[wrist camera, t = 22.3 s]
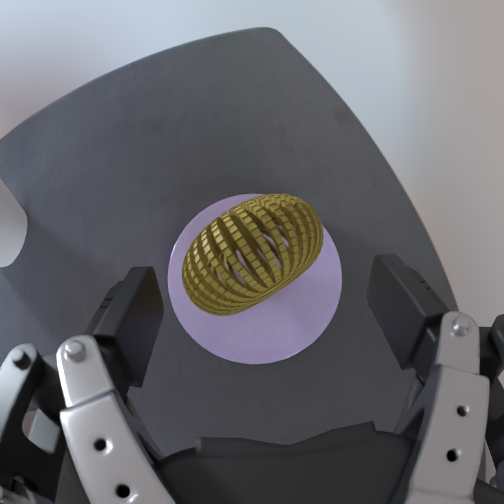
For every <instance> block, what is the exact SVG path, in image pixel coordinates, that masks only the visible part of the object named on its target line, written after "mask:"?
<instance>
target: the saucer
mask: <svg viewBox="0 0 504 504" xmlns="http://www.w3.org/2000/svg"><path fill="white" fill-rule="evenodd" d="M261 195H265V194H245V195H238V196H234V197H229V198H227V199H224V200H221V201H219V202H217V203H215V204H213V205H211V206H209V207H208V208H206V209H205V210H203V211H202V212H200V213H199V214H198V215H197V216H196V217H195V218H194V219H193V220H192V221H191V222H190V223H189V224H188V225H187V226H186V228H185V229H184V230H183V232H182V233H181V235H180V236H179V238H178V240H177V242H176V244H175V246H174V249H173V252H172V255H171V259H170V263H169V269H168V289H169V295H170V300H171V303H172V306H173V309H174V312H175V314H176V316H177V318H178V320H179V322H180V323H181V324H182V326H183V327H184V329H185V330H186V332H187V333H188V334H189V335H190V336H191V337H192V338H193V339H194V340H195V341H196V342H197V343H198V344H200V345H201V346H202V347H203V348H205V349H206V350H208V351H210V352H211V353H213V354H215V355H217V356H219V357H222V358H224V359H227V360H230V361H234V362H239V363H245V364H264V363H272V362H276V361H280V360H283V359H286V358H288V357H291V356H293V355H295V354H297V353H299V352H300V351H302V350H304V349H305V348H307V347H308V346H309V345H310V344H312V343H313V342H314V341H315V340H316V339H317V338H318V337H319V336H320V335H321V334H322V333H323V331H324V330H325V329H326V327H327V326H328V324H329V323H330V321H331V319H332V317H333V315H334V314H335V311H336V308H337V306H338V303H339V299H340V294H341V288H342V270H341V264H340V259H339V255H338V252H337V249H336V247H335V244H334V242H333V240H332V238H331V237H330V235H329V234H328V232H327V231H326V229H325V228H324V226H323V225H322V227H323V230H324V231H323V234H324V239H323V244H322V245H323V246H322V248H321V252H320V254H319V255H318V258H316V261H315V262H314V263H313V264H312V265H311V267H310V268H308V269H307V270H306V271H305V272H304V273H303V274H301V275H300V276H299V277H298V278H296V279H295V280H294V281H293V282H291V283H290V284H288V285H286V287H284V288H283V289H281V290H280V291H278V292H277V293H274V295H272V296H271V297H269V298H267V299H266V300H264V301H261V303H259V304H257V305H255V306H253V307H251V308H249V309H247V310H244V311H243V312H241V313H240V312H239V313H238V314H234V315H231V316H216V315H212V314H208V313H206V312H205V311H202V310H201V309H199V308H198V307H196V306H195V304H194V303H193V302H191V300H190V299H189V297H188V295H187V294H186V291H185V288H184V287H183V282H182V281H183V280H182V266H183V261H184V258H185V256H186V252H187V250H189V248H190V245H191V244H192V242H193V241H194V239H195V238H196V237H197V235H198V234H199V233H200V232H201V231H203V230H204V228H205V227H206V226H207V225H208V224H210V223H212V221H213V220H214V219H216V218H217V217H221V214H223V213H224V212H226V211H227V213H228V214H229V209H230V208H232V207H234V206H237V205H238V204H240V203H242V202H244V201H247V200H249V199H251V198H252V199H253V198H254V197H255V198H256V197H258V196H261ZM230 217H231V216H230ZM221 218H222V217H221ZM278 226H279V225H278ZM293 227H295V226H293ZM280 229H283V228H281V226H280ZM261 233H262V232H261ZM263 235H264V236H265V237H266V238H268V239H269V240H270V241H271V243H272V244H273V245H274V244H275V243H273V242H274V241H272V239H271V238H269V237H268V236H266V235H265V234H263ZM296 235H297V234H296ZM282 238H283V237H282ZM283 240H284V243H285V244H286V245H287V246H288V245H289V244H288V243H287V242H288V241H287V240H286V239H284V238H283ZM297 243H298V242H297ZM262 245H264V244H262ZM274 246H275V245H274ZM256 248H257V247H256ZM275 248H276V247H275ZM273 249H274V248H273ZM236 251H237V250H236ZM257 251H258V252H259V254H260V255H261V256H262V258H263V259H264V260H265V261H266V259H265V258H264V257H263V255H262V253H260V251H259V250H258V249H257ZM236 253H237V255H238V256H237V257H238V258H239V260H240V261H241V264H243V265H244V266H245V267H246V270H248V268H247V266H246V265H245V263H244V260H243V259H242V257H241V255H240V253H239V251H237V252H236ZM273 256H275V255H273ZM275 259H276V261H277V263H278V266H279V267H280V266H281V265H280V263H279V260H277V258H276V257H275ZM223 260H225V259H223ZM223 264H224V265H225V261H224V262H223ZM225 268H227V267H225ZM233 269H234V268H233ZM235 270H236V269H234V270H233V271H234V272H235V274H236V276H237V278H238V279H239V280H240V281H241V283H242V282H243V284H244V283H245V282H244V281H243V279H242V278H241V276H240V275H239V274H238V273H237V272H236V271H235ZM248 271H249V270H248ZM211 272H212V271H211ZM249 273H250V271H249ZM210 274H211V273H210ZM217 276H218V277H219V279H220V278H221V277H220V275H219V273H218V275H217ZM220 280H221V279H220ZM245 284H246V283H245ZM206 288H207V287H206ZM233 289H235V288H233ZM235 291H236V290H235ZM237 291H238V290H237Z"/></svg>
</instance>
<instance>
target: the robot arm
mask: <svg viewBox="0 0 504 504" xmlns="http://www.w3.org/2000/svg"><path fill="white" fill-rule="evenodd" d="M367 298H368V304H369V306H370V308H371V310H372V312H373V314H374V316H375V317H376V319H377V321H378V323H379V325H380V327H381V329H382V331H383V333H384V335H385V337H386V338H387V340H388V342H389V344H390V346H391V348H392V350H393V352H394V354H395V356H396V359H397V361H398V363H399V365H400V367H401V369H402V370H404V369H408V368H412V367H414V368H415V369H416V372H415V374H414V376H413V379H412V382H411V386H410V389H409V392H408V395H407V399H406V402H405V405H404V408H403V410H402V413H401V416H400V419H399V421H398V423H397V425H396V427H395V428H394V430H393V432H392V433H391V432H384V431H376V429H375V426H374V423H373V421H370V422H366V423H361V424H357V425H352V426H347V427H342V428H337V429H332V430H330V431H327V432H325V433H322V434H320V435H317V436H314V437H312V438H309V439H306V440H304V441H301V442H298V443H295V444H292V445H280V444H273V443H266V442H260V441H255V440H249V439H244V438H205V437H196V446H195V448H190V449H186V450H182V451H179V452H176V453H174V454H171V455H169V456H167V457H165V456H164V455H163V454H162V452H161V451H160V449H159V448H158V447H157V445H156V444H155V443H154V441H153V440H152V438H151V436H150V435H149V433H148V431H147V430H146V428H145V426H144V424H143V423H142V421H141V419H140V417H139V415H138V413H137V412H136V410H135V408H134V406H133V404H132V402H131V400H130V398H129V396H128V395H127V392H128V389H129V386H133V387H142V384H143V380H144V377H145V373H146V370H147V366H148V363H149V360H150V356H151V353H152V350H153V347H154V343H155V340H156V337H157V334H158V331H159V328H160V325H161V322H162V319H163V313H164V307H163V301H162V297H161V293H160V290H159V286H158V282H157V278H156V274H155V271H154V269H153V267H132V268H131V269H130V271H129V272H128V274H127V276H126V277H125V279H124V280H123V281H120V282H118V283H117V284H116V285H115V286H114V287H112V288H111V289H110V290H109V292H108V293H107V295H106V297H105V298H104V301H103V302H102V303H101V305H100V308H98V310H97V312H96V313H95V315H94V317H93V318H92V320H91V322H90V324H89V325H88V327H87V329H86V331H85V332H84V334H83V335H76V336H73V337H71V338H69V339H68V340H66V341H65V342H64V343H63V344H62V345H61V346H60V347H59V349H58V351H57V353H54V354H47V355H41V356H40V354H39V353H38V351H37V349H36V348H35V346H34V345H32V344H29V343H26V344H21V345H19V346H17V347H16V348H14V349H13V350H12V351H11V352H10V353H9V355H8V356H7V358H6V360H5V361H4V363H3V365H2V367H1V369H0V504H55V499H56V493H57V488H58V482H59V477H60V473H61V468H62V464H63V459H64V455H65V451H66V447H67V444H68V447H69V450H70V453H71V456H72V459H73V462H74V465H75V467H76V470H77V473H78V475H79V478H80V480H81V483H82V485H83V487H84V490H85V492H86V494H87V496H88V498H89V501H90V503H91V504H504V389H503V387H502V385H501V383H500V381H499V379H498V376H499V375H500V374H501V372H502V371H503V370H504V314H502V315H499V316H497V317H496V319H495V321H494V323H493V325H492V327H478V325H477V323H476V322H475V321H474V320H473V319H472V318H471V317H470V316H468V315H467V314H464V313H462V312H458V311H451V312H450V310H449V309H448V308H447V307H446V305H445V304H444V303H443V302H442V300H441V299H440V298H439V297H438V295H437V294H436V293H435V292H434V291H433V289H432V290H431V287H430V286H429V285H428V283H425V280H424V279H423V278H422V277H421V275H420V274H419V273H418V272H416V271H415V270H413V269H412V268H410V267H408V266H406V265H405V264H404V263H403V261H402V260H401V259H400V258H399V257H398V256H397V255H396V254H385V255H376V256H375V258H374V261H373V266H372V271H371V276H370V281H369V286H368V291H367ZM30 401H32V402H33V403H34V404H35V405H36V406H37V407H38V409H37V412H36V414H35V417H34V420H33V423H32V425H31V428H30V431H29V434H28V437H26V436H25V435H24V433H23V429H22V422H23V419H24V416H25V414H26V411H27V409H28V406H29V404H30ZM484 438H485V439H486V442H487V445H488V447H489V450H490V453H491V456H492V459H493V462H494V465H495V469H496V475H495V476H494V477H492V478H491V480H490V483H489V484H488V483H486V482H484V481H482V480H480V479H478V478H476V477H477V473H478V469H479V465H480V460H481V455H482V450H483V445H484Z"/></svg>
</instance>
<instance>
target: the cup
mask: <svg viewBox="0 0 504 504" xmlns="http://www.w3.org/2000/svg"><path fill="white" fill-rule="evenodd" d="M27 227H28V222H27V216H26V213H25V211H24V210H23V209H22V207H21V206H20V205H19V203H18V202H17V201H16V199H15V198H14V197H13V195H12V194H11V193H10V191H9V190H8V189H7V187H6V186H5V184H4V183H3V181H2V180H1V179H0V267H6V266H9V265H10V264H11V263H13V262H14V260H15V259H16V258H17V257H18V255H19V253H20V251H21V249H22V247H23V244H24V242H25V238H26V234H27Z"/></svg>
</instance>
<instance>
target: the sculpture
mask: <svg viewBox="0 0 504 504" xmlns="http://www.w3.org/2000/svg"><path fill="white" fill-rule="evenodd" d="M230 216H231V217H230ZM221 217H222V218H221ZM221 217H217V218H216V219H214V220H213V221H212V223H210V224H208V225H207V226H206V227H205V228H204V230H203V231H201V232H200V233H199V234H198V235H197V237H196V238H195V239H194V241H193V242H192V244H191V245H190V248H189V250H187V252H186V256H185V258H184V261H183V266H182V280H183V281H182V282H183V287H184V288H185V291H186V294H187V295H188V297H189V299H190V300H191V302H193V303H194V304H195V306H196V307H198V308H199V309H201V310H202V311H205V312H206V313H208V314H212V315H216V316H231V315H234V314H238V313H239V312H240V313H241V312H243V311H244V310H247V309H249V308H251V307H253V306H255V305H257V304H259V303H261V301H264V300H266V299H267V298H269V297H271V296H272V295H274V293H277V292H278V291H280V290H281V289H283V288H284V287H286V285H288V284H290V283H291V282H293V281H294V280H295V279H296V278H298V277H299V276H300V275H301V274H303V273H304V272H305V271H306V270H307V269H308V268H310V267H311V265H312V264H313V263H314V262H315V261H316V258H318V255H319V254H320V252H321V248H322V246H323V245H322V244H323V239H324V234H323V231H324V230H323V227H322V222H321V220H320V218H319V217H318V215H317V213H316V211H315V210H314V209H313V208H312V207H311V206H310V205H309V204H308V203H306V202H305V201H304V200H302V199H299V198H298V197H295V196H292V195H288V194H276V193H274V194H271V195H270V194H267V195H261V196H258V197H256V198H255V197H254V198H253V199H252V198H251V199H249V200H247V201H244V202H242V203H240V204H238V205H237V206H234V207H232V208H230V209H229V214H228V213H227V211H226V212H224V213H223V214H221ZM278 225H279V226H278ZM280 226H281V228H283V229H280ZM293 226H295V227H293ZM261 232H262V233H261ZM263 234H265V235H266V236H268V237H269V238H271V239H272V241H274V242H273V243H275V244H274V245H275V246H274V245H273V244H272V243H271V241H270V240H269V239H268V238H266V237H265V236H264V235H263ZM296 234H297V235H296ZM282 237H283V238H284V239H286V240H287V241H288V242H287V243H288V244H289V245H288V246H287V245H286V244H285V243H284V240H283V238H282ZM297 242H298V243H297ZM262 244H264V245H262ZM256 247H257V248H256ZM275 247H276V248H275ZM273 248H274V249H273ZM257 249H258V250H259V251H260V253H262V255H263V257H264V258H265V259H266V261H265V260H264V259H263V258H262V256H261V255H260V254H259V252H258V251H257ZM236 250H237V251H239V253H240V255H241V257H242V259H243V260H244V263H245V265H246V266H247V268H248V270H249V271H250V273H249V271H248V270H246V267H245V266H244V265H243V264H241V261H240V260H239V258H238V257H237V256H238V255H237V253H236V252H237V251H236ZM273 255H275V256H273ZM275 257H276V258H277V260H279V263H280V265H281V266H280V267H279V266H278V263H277V261H276V259H275ZM223 259H225V260H223ZM224 261H225V265H224V264H223V262H224ZM225 267H227V268H225ZM233 268H234V269H236V270H235V271H236V272H237V273H238V274H239V275H240V276H241V278H242V279H243V281H244V282H245V283H246V284H245V283H244V284H243V282H242V283H241V281H240V280H239V279H238V278H237V276H236V274H235V272H234V271H233V270H234V269H233ZM211 271H212V272H211ZM210 273H211V274H210ZM218 273H219V275H220V277H221V278H220V279H221V280H220V279H219V277H218V276H217V275H218ZM206 287H207V288H206ZM233 288H235V289H233ZM235 290H236V291H235ZM237 290H238V291H237Z"/></svg>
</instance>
